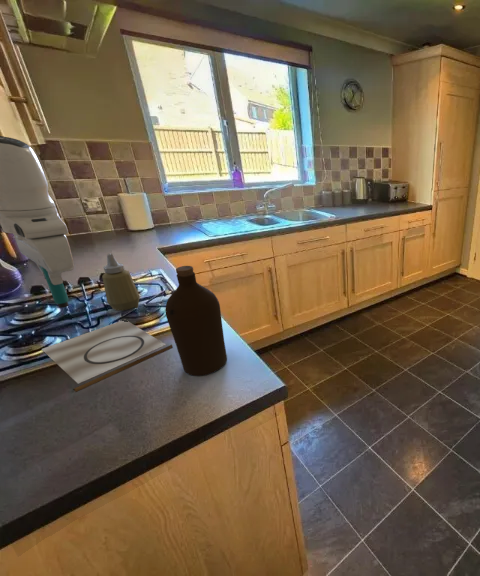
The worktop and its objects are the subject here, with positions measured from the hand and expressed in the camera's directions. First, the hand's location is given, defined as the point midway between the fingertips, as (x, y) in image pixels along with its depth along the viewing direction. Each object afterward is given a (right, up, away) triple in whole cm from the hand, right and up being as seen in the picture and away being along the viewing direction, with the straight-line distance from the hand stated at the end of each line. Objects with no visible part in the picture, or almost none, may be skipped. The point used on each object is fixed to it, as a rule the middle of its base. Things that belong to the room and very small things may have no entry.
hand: (54, 281), depth 74 cm
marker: (0, -6, +3) cm, 6 cm away
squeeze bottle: (-6, -8, +28) cm, 30 cm away
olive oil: (+31, -20, +6) cm, 38 cm away
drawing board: (+4, -17, +9) cm, 20 cm away
